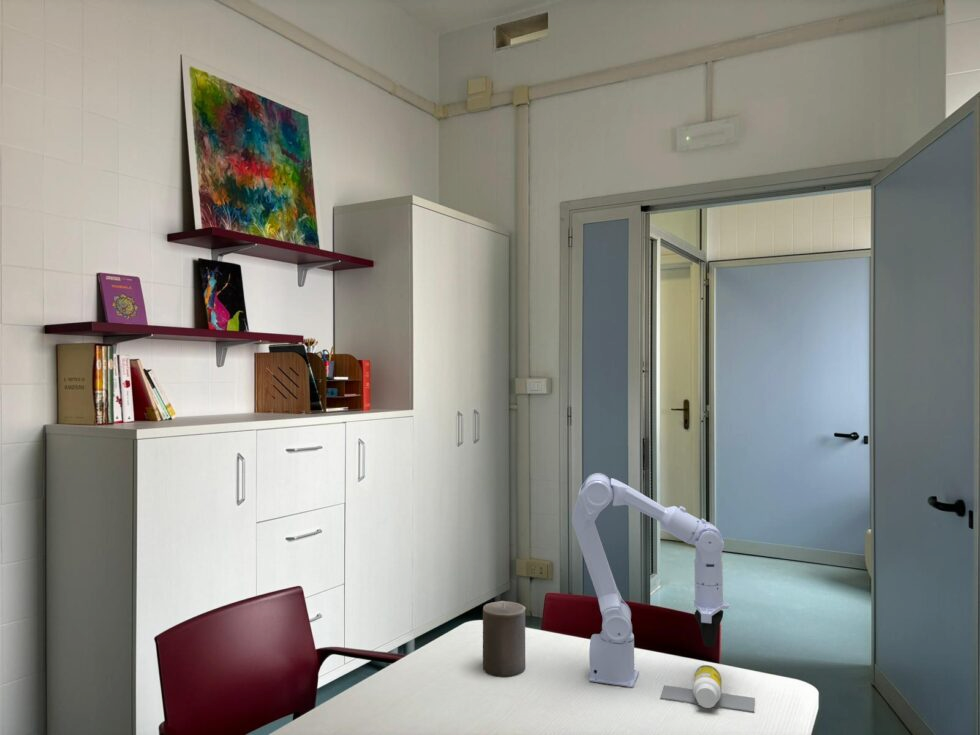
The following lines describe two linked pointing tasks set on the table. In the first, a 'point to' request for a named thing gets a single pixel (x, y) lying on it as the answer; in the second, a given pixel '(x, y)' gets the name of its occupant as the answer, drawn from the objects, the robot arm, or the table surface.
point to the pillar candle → (504, 639)
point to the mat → (724, 702)
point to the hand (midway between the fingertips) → (709, 645)
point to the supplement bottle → (707, 686)
